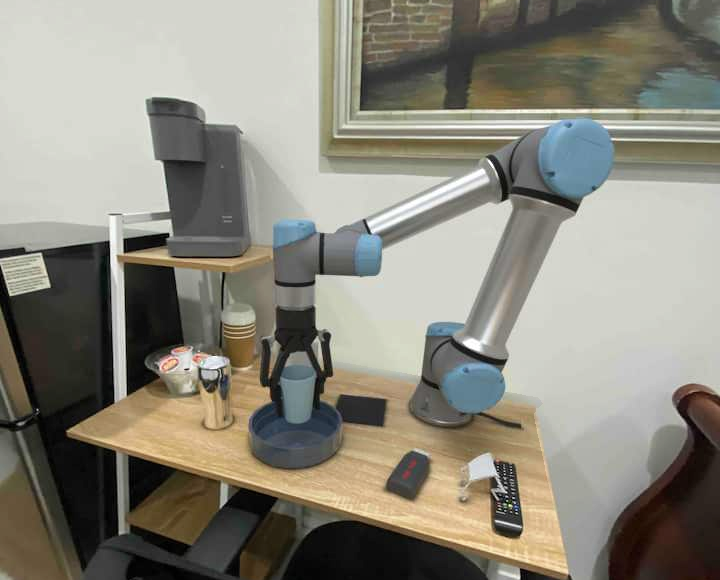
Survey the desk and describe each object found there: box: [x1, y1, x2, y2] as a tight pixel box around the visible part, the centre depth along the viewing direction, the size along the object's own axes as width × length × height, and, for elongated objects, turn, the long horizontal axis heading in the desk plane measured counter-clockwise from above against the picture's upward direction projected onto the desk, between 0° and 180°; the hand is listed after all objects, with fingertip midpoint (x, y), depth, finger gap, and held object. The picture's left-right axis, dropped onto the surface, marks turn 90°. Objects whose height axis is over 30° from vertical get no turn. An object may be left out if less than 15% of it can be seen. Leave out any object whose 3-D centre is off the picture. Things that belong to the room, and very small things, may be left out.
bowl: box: [247, 398, 344, 469], centre depth 83 cm, size 19×19×5 cm
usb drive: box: [385, 447, 431, 501], centre depth 75 cm, size 5×12×3 cm, turn 152°
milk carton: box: [285, 336, 319, 378], centre depth 101 cm, size 7×7×19 cm
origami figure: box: [457, 452, 507, 501], centre depth 73 cm, size 12×8×5 cm
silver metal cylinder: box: [196, 355, 234, 430], centre depth 86 cm, size 7×7×15 cm
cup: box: [279, 364, 316, 424], centre depth 80 cm, size 8×8×10 cm
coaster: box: [335, 393, 387, 427], centre depth 97 cm, size 12×12×1 cm
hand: (297, 410), depth 82 cm, fingers closed on cup, 7 cm apart
